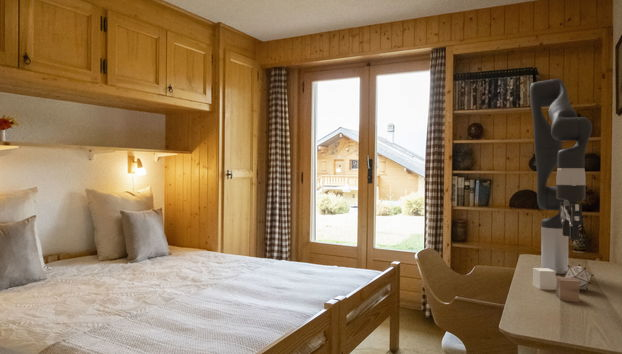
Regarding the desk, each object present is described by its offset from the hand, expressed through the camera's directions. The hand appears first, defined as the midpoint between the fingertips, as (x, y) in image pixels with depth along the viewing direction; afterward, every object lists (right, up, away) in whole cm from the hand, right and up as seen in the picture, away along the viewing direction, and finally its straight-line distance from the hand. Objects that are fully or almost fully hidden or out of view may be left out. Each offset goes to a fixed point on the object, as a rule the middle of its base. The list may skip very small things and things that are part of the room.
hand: (570, 237), depth 130 cm
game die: (+9, -19, +12) cm, 24 cm away
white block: (0, -19, +14) cm, 23 cm away
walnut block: (-1, -18, 0) cm, 18 cm away
